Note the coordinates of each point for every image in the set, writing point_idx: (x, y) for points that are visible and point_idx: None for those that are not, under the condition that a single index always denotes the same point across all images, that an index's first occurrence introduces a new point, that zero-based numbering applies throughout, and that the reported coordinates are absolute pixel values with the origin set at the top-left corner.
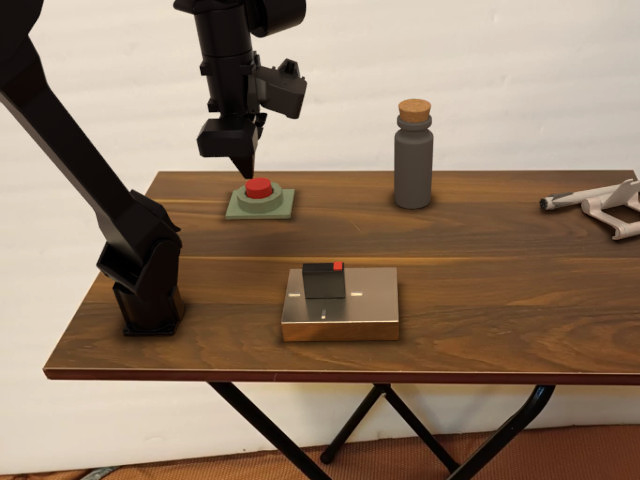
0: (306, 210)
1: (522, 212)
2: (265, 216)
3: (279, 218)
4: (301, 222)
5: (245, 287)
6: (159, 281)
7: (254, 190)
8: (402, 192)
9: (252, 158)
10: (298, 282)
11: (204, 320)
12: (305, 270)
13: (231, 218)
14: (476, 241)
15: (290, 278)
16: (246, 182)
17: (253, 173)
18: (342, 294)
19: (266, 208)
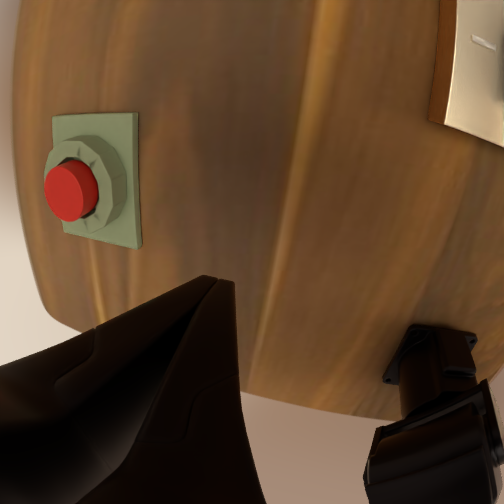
0: (111, 80)
1: None
2: (135, 168)
3: (137, 136)
4: (154, 85)
5: (400, 220)
6: (497, 410)
7: (84, 201)
8: None
9: (238, 374)
10: (498, 118)
11: (464, 295)
12: None
13: (140, 236)
14: None
15: (480, 132)
16: (62, 219)
17: (210, 284)
18: None
19: (117, 168)
